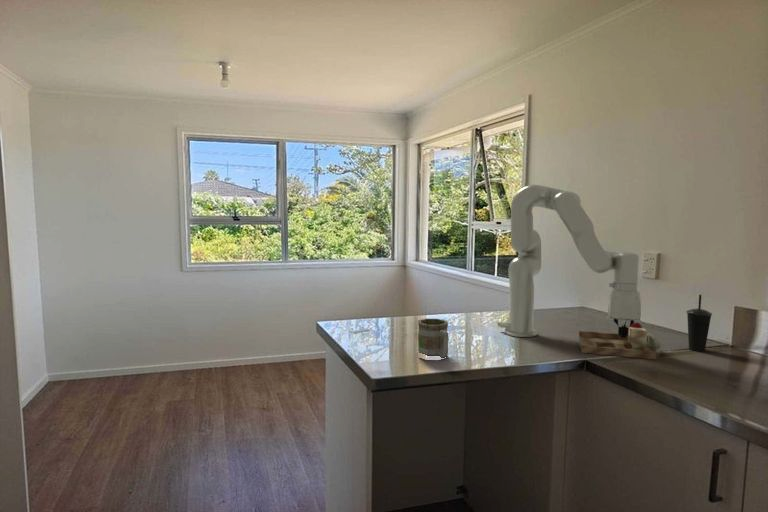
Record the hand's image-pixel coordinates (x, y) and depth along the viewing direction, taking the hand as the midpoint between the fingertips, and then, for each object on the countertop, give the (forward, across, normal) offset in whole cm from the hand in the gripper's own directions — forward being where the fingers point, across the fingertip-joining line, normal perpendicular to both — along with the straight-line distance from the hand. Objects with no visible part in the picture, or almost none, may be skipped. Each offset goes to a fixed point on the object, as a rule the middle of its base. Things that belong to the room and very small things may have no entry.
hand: (622, 337), depth 169 cm
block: (+2, +5, 0) cm, 5 cm away
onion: (+4, +6, +15) cm, 17 cm away
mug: (+4, -62, -32) cm, 70 cm away
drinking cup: (+4, +25, +7) cm, 27 cm away
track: (+4, -2, -3) cm, 6 cm away
